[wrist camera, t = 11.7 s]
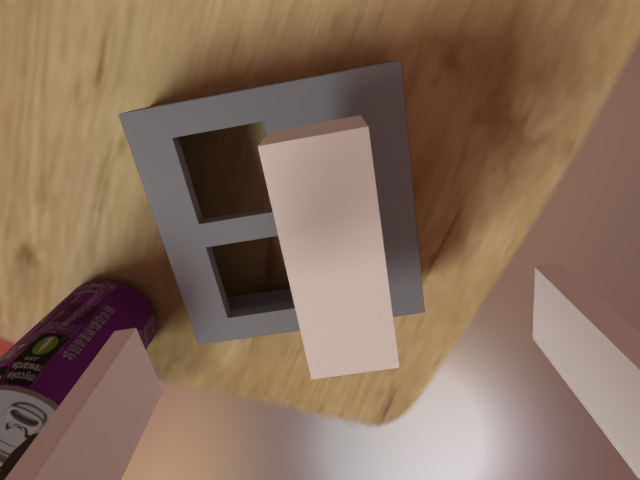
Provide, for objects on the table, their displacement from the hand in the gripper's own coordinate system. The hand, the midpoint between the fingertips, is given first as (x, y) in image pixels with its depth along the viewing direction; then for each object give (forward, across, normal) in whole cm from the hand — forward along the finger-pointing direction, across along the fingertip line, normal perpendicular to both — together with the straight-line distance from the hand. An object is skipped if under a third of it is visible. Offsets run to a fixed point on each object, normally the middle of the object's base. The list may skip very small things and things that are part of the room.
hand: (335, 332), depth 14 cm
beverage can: (+18, -19, -8) cm, 27 cm away
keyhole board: (+17, -3, -1) cm, 18 cm away
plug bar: (+17, 0, -1) cm, 17 cm away
